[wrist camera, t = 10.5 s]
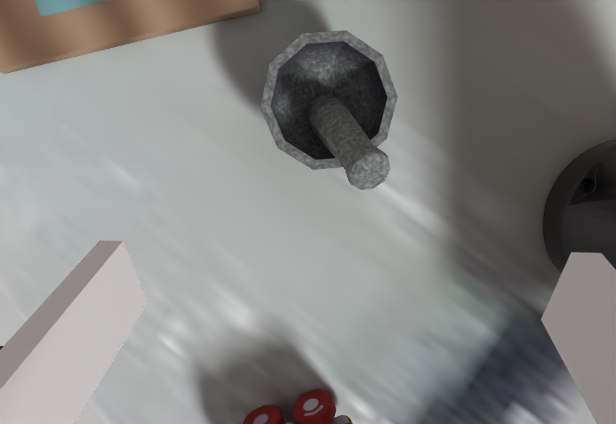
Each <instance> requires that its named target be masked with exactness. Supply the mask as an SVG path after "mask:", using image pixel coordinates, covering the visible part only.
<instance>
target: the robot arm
mask: <svg viewBox="0 0 616 424" xmlns="http://www.w3.org/2000/svg"><path fill="white" fill-rule="evenodd" d="M543 227H544V239H545V243H546V247H547V250H548V253H549V255H550V257H551V259H552V261H553V263H554V264H555V266H556V267H557V268H558V270H559V271H560V272H561V273H562V274H561V276H560V278H559V281H558V283H557V285H556V287H555V290H554V292H553V294H552V296H551V298H550V301H549V303H548V305H547V307H546V310H545V312H544V314H543V316H542V319H541V320H542V322H543V324H544V326H545V328H546V330H547V332H548V333H549V335H550V337H551V339H552V341H553V343H554V345H555V346H556V348H557V350H558V352H559V354H560V356H561V358H562V359H563V361H564V363H565V365H566V367H567V369H568V371H569V372H570V374H571V376H572V378H573V380H574V382H575V384H576V385H577V387H578V389H579V391H580V393H581V395H582V397H583V398H584V400H585V402H586V404H587V406H588V408H589V410H590V411H591V413H592V415H593V417H594V419H595V421H596V423H597V424H616V140H615V141H610V142H606V143H603V144H601V145H598V146H596V147H594V148H592V149H590V150H588V151H586V152H585V153H583V154H582V155H580V156H579V157H578V158H577V159H575V160H574V161H573V162H572V163H571V164H570V165H569V166H568V167H567V168H566V169H565V170H564V172H563V173H562V174H561V176H560V177H559V179H558V180H557V182H556V183H555V185H554V187H553V189H552V191H551V193H550V196H549V198H548V201H547V205H546V208H545V214H544V225H543ZM147 303H148V302H147V299H146V297H145V294H144V292H143V289H142V287H141V284H140V282H139V279H138V277H137V275H136V272H135V270H134V267H133V265H132V262H131V260H130V257H129V255H128V252H127V250H126V247H125V245H124V242H123V241H99V242H98V243H97V244H96V246H95V247H94V248H93V249H92V250H91V251H90V252H89V253H88V254H87V255H86V257H85V258H84V259H83V260H82V261H81V262H80V263H79V264H78V265H77V266H76V268H75V269H74V270H73V271H72V272H71V273H70V274H69V275H68V276H67V277H66V278H65V280H64V281H63V282H62V283H61V284H60V285H59V286H58V287H57V288H56V289H55V291H54V292H53V293H52V294H51V295H50V296H49V297H48V298H47V299H46V300H45V302H44V303H43V304H42V305H41V306H40V307H39V308H38V309H37V310H36V311H35V313H34V314H33V315H32V316H31V317H30V318H29V319H28V320H27V321H26V322H25V323H24V325H23V326H22V327H21V328H20V329H19V330H18V331H17V332H16V333H15V334H14V336H13V337H12V338H11V339H10V340H9V341H8V342H7V343H6V344H5V345H4V346H0V424H75V423H76V421H77V420H78V418H79V417H80V415H81V413H82V412H83V410H84V408H85V407H86V405H87V403H88V402H89V400H90V398H91V397H92V395H93V393H94V392H95V390H96V388H97V387H98V385H99V383H100V382H101V380H102V378H103V377H104V375H105V373H106V372H107V370H108V368H109V367H110V365H111V363H112V362H113V360H114V358H115V357H116V355H117V353H118V352H119V350H120V348H121V347H122V345H123V343H124V342H125V340H126V338H127V337H128V335H129V333H130V332H131V330H132V328H133V327H134V325H135V323H136V322H137V320H138V318H139V317H140V315H141V313H142V312H143V310H144V308H145V307H146V305H147Z"/></svg>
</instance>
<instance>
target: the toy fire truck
mask: <svg viewBox="0 0 616 424" xmlns="http://www.w3.org/2000/svg"><path fill="white" fill-rule="evenodd" d="M335 413H336V407H335V404H334V401H333V398H332V396H331V395H330V393H329V392H327V391H325V390H312V391H310V392H307V393H305V394H304V395H302V396H301V397H300V398H299V399H298V400H297V401H296V402H295V404H294V406H293V410H292V414H293V418H294V420H295V423H296V424H352V422H351V419H350V418H349V417H348V416H345V415H341V416H338V417H335V418H334V416H335ZM243 424H285V421H284V418H283V416H282V413H281V411H280V410H279V409H278V408H277V407H275V406H270V405H268V406H263V407H260V408H258V409H256V410H254V411H253V412H251V413H250V414H249V415H248V416H247V417H246V419H245V420H244V422H243Z"/></svg>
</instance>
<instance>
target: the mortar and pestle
mask: <svg viewBox="0 0 616 424" xmlns="http://www.w3.org/2000/svg"><path fill="white" fill-rule="evenodd" d="M396 100H397V94H396V91H395V88H394V86H393V83H392V80H391V77H390V74H389V72H388V69H387V66H386V63H385V61H384V58H383V55H382V54H380V53H379V52H377V51H376V50H374V49H373V48H371V47H370V46H368V45H367V44H365V43H364V42H363V41H361V40H360V39H358V38H357V37H355V36H354V35H352V34H351V33H349V32H348V31H332V32H316V33H303V34H302V35H300V36H299V37H298V38H297V39H296V40H295V41H294V42H293V43H291V44H290V45H289V46H288V47H287V48H286V49H285V50H284V51H283V52H281V53H280V54H279V55H278V56H277V57H276V58H275V59H274V60H272V61H271V62H270V63H269V68H268V73H267V78H266V82H265V87H264V92H263V97H262V101H261V106H260V108H261V110H262V112H263V115H264V117H265V119H266V122H267V124H268V126H269V129H270V131H271V133H272V136H273V138H274V140H275V143H276V145H277V147H278V148H279V149H280V150H282V151H284V152H285V153H287V154H289V155H290V156H292V157H293V158H295V159H297V160H298V161H300V162H302V163H303V164H305V165H307V166H308V167H310V168H311V169H313V170H315V169H326V168H338V167H344V169H345V170H346V174H347V177H348V180H349V182H350V183H351V185H353V186H355V187H357V188H359V189H361V190H365V189H372V188H375V187H376V186H378V185H379V184H380V183H382V182H383V181H385V179H386V177H387V175H388V172H389V170H390V165H389V160H388V156H387V155H386V154H385V153H384V152H383V151H381V150H380V149H378V148H377V146H379V145H380V144H381V143H382V142H383V141H384V140H386V139H387V135H388V131H389V127H390V123H391V120H392V116H393V112H394V108H395V104H396Z"/></svg>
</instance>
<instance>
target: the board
mask: <svg viewBox="0 0 616 424" xmlns="http://www.w3.org/2000/svg"><path fill="white" fill-rule="evenodd" d="M260 11H261V8H260V3H259V0H0V72H1V73H9V72H13V71H18V70H22V69H26V68H30V67H34V66H38V65H42V64H46V63H50V62H55V61H59V60H63V59H67V58H71V57H75V56H79V55H83V54H88V53H92V52H96V51H100V50H104V49H108V48H112V47H116V46H120V45H125V44H129V43H133V42H137V41H141V40H145V39H149V38H153V37H158V36H162V35H166V34H170V33H174V32H178V31H182V30H186V29H190V28H195V27H199V26H203V25H207V24H211V23H215V22H219V21H223V20H227V19H232V18H236V17H240V16H244V15H248V14H252V13H256V12H260Z"/></svg>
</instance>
